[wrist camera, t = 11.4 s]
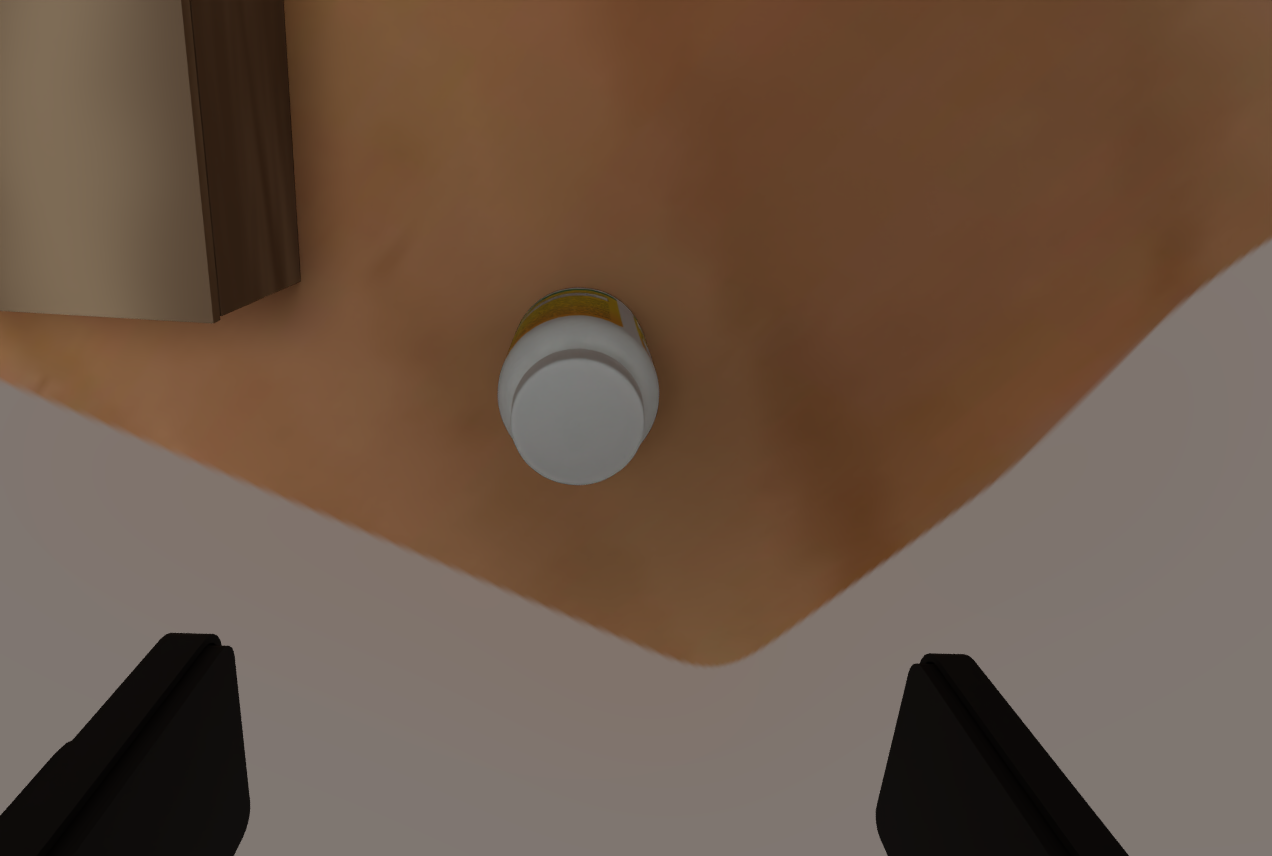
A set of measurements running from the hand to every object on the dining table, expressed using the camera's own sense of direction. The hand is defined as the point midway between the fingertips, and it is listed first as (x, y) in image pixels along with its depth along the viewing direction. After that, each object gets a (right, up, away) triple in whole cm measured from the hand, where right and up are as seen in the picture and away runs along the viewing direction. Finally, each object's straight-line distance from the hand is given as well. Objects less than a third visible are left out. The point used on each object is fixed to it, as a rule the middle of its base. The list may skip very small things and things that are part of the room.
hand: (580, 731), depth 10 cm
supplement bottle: (-2, +8, +21) cm, 22 cm away
